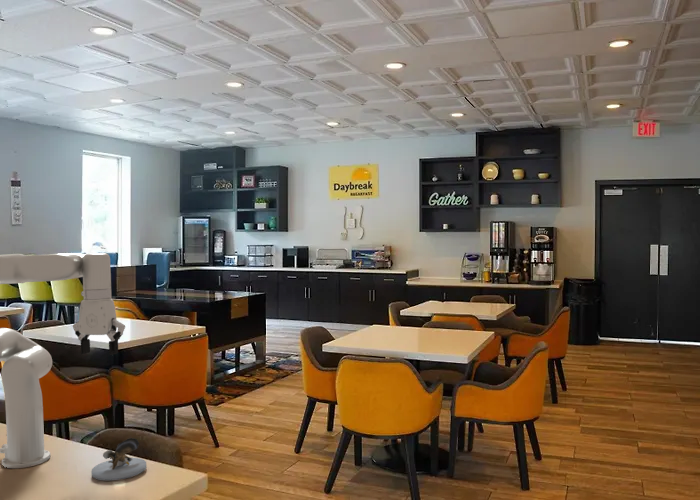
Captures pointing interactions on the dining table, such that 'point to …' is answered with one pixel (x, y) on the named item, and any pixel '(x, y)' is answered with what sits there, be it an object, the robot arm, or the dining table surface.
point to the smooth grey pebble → (118, 469)
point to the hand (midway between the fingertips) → (99, 353)
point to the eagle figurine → (121, 451)
